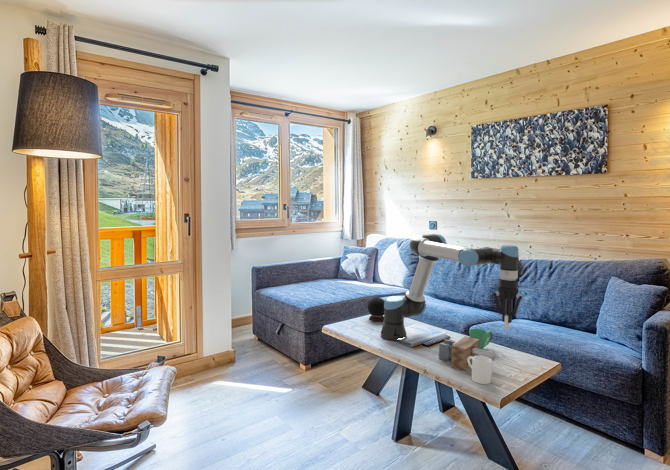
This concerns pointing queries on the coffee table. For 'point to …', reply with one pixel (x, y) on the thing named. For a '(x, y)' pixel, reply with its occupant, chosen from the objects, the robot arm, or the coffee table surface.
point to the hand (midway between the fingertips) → (506, 329)
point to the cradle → (445, 350)
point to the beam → (463, 352)
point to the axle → (481, 352)
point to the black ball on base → (376, 309)
